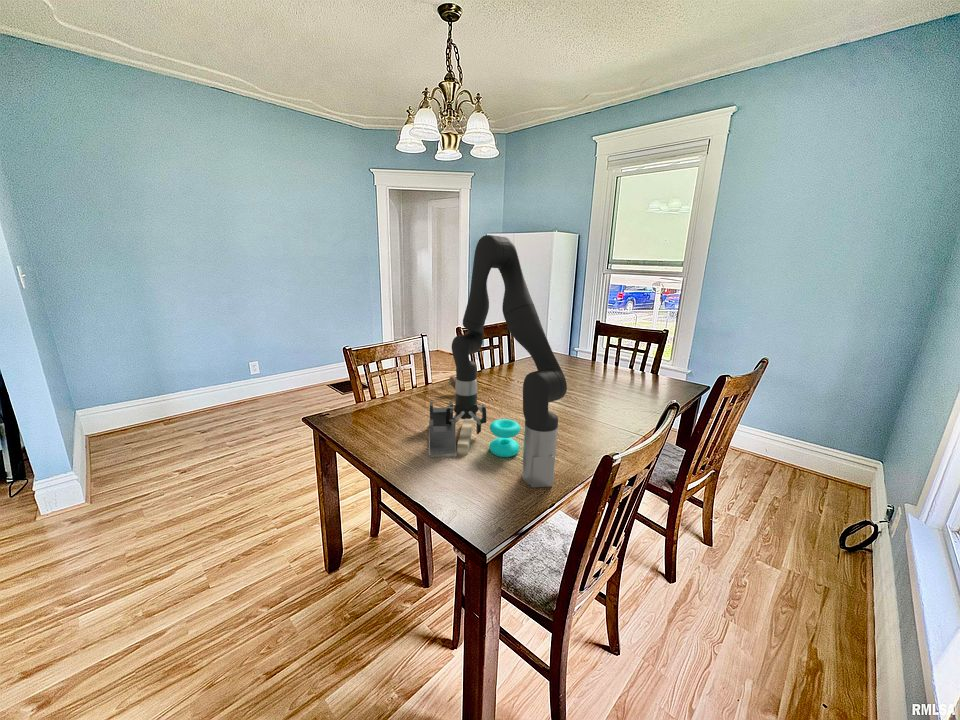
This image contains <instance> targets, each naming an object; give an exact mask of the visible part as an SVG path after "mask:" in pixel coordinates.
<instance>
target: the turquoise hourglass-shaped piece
mask: <svg viewBox="0 0 960 720" xmlns="http://www.w3.org/2000/svg"><path fill="white" fill-rule="evenodd" d="M489 429H490V430H489V431H490V432H491V433H492V435H494V436H496V438H494V439H493V440H491V441H490V444H489V446H488V447H489V451H490V453H492V454H493V455H494V456H497V457H500V458H511V457H514V456H515V455H517V454H518V453H519V450H520V445H519V443H518V442H517V441H516V440H515V439H513V438H514V437H516V436H517V435H519V433H520V431H521V426H520V424H519V423H518V422H517V421H516V420H513V419H508V418H499V419H495V420H494V421H491V423H490V425H489Z"/></svg>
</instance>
